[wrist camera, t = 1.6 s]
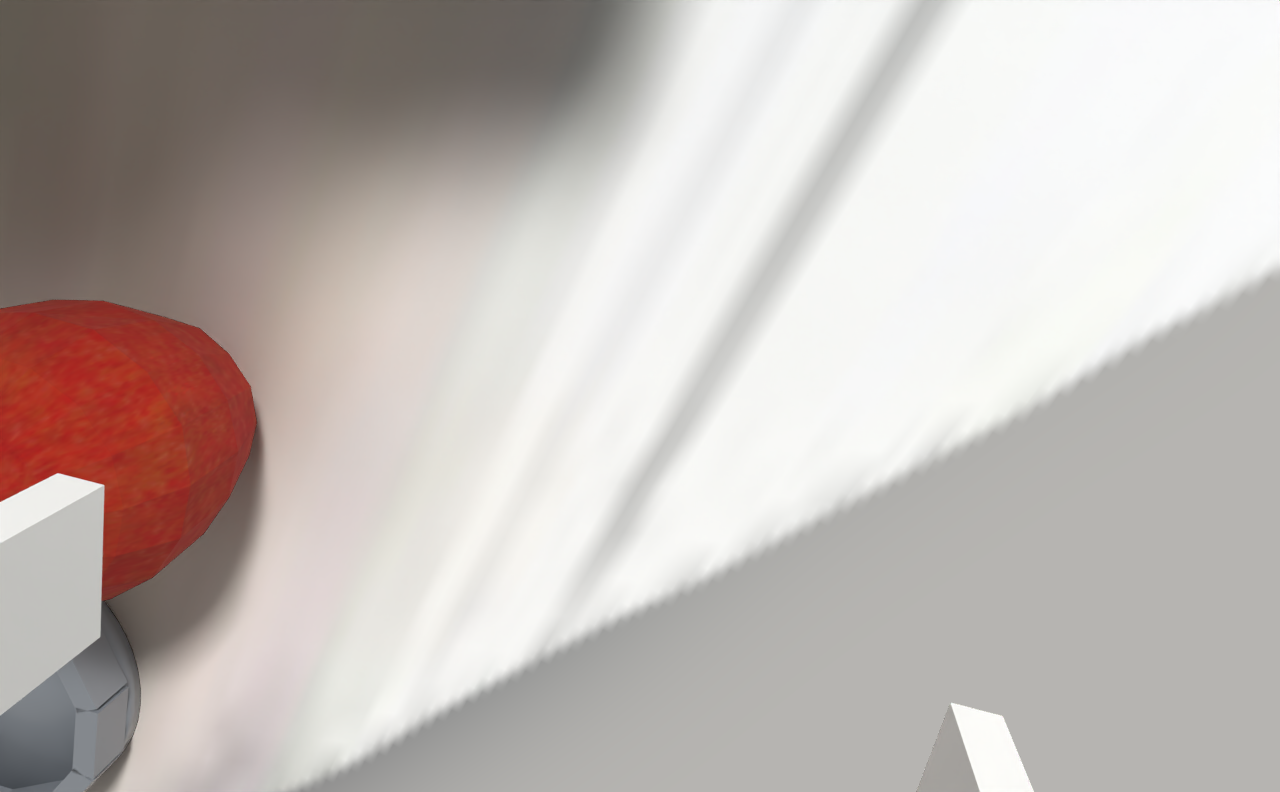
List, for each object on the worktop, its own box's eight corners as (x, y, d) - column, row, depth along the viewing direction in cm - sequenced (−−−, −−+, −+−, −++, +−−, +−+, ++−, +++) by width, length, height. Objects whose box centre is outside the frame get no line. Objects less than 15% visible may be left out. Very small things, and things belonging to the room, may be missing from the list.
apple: (164, 541, 40) (-134, 746, 26) (31, 338, 38) (-363, 450, 24) (356, 449, 37) (135, 625, 24) (225, 227, 35) (-95, 284, 22)
